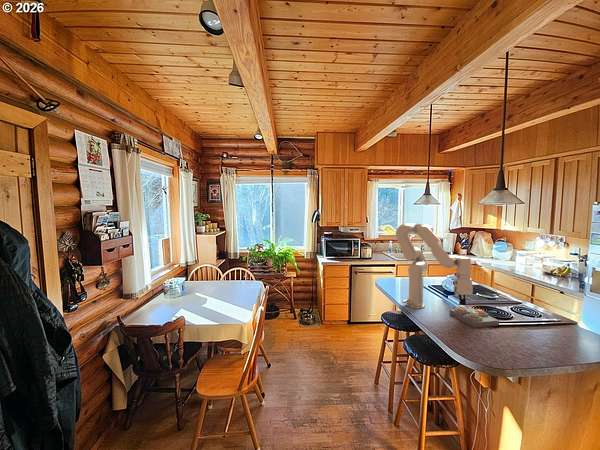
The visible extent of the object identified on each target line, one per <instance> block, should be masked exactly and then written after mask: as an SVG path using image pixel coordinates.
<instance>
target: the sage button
mask: <svg viewBox="0 0 600 450" xmlns="http://www.w3.org/2000/svg"><path fill="white" fill-rule="evenodd" d="M470 316H471V317H474V318H478V312H475V311H470Z"/></svg>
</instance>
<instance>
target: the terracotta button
mask: <svg viewBox="0 0 600 450" xmlns="http://www.w3.org/2000/svg"><path fill="white" fill-rule="evenodd" d="M476 312H478V314H484V312H485V311H484V310H483V309H479V308H476Z"/></svg>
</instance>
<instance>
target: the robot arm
mask: <svg viewBox="0 0 600 450" xmlns="http://www.w3.org/2000/svg"><path fill="white" fill-rule="evenodd" d="M411 235H415V236H418V237H419V238H421V240H422V242H424V243H425V245H427V247H428V249H430V252H431V254H432V255H433V257H434V258H435V260H436V261H437V262H438V263H439V264H440V265H441V266H442V267H443V268H446V269H451V268H453V267H456V274H455V279H454V283H453V284H454V286H453V292H454V296H456V297H458V298H459V304H460V305H463V306H466V301H467V299H468V297H469V296H471V295H472V294H473V291H474V290H473V288H474V287H473V280H472V278H471V270H472V269H471V267H472V266H471V262H472V259H471V257H468V256H459V255H455V254H448V253H447V252H446V251H445V250H444V248H443V246H442V241H441V239H440V238H439V237H438V236H437V235H436V234H435V233H434V228H433V227H432V225H429V224H426V223H425V224H424V223H417V222H416V223H414V222H408V223H406V222H405V223H402V224H400V225H399V226H398V227H397V229H396V231H395V238H396V240H397V243H398V245H399V247H400V249H401V251H402V254H403V256H404V259H405V260H406V261H409V262H411V261H412V263H410V264H409V266H408V269H407V272H408V298H406V299H402V300H401V302H402V304H406V306H407V307H409V308H412V309H421V310H422V309H425V308H426V304H425V303H424V274H425V273H427V271H428V269H429V265H428V262H427V260H426V257H425V255H424V254H423V251H422V250H421V249H420V248H419V247H417V246H414V244H413V243H412V240H411V239H410V237H409V236H411Z"/></svg>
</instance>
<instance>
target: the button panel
mask: <svg viewBox="0 0 600 450" xmlns="http://www.w3.org/2000/svg"><path fill="white" fill-rule="evenodd" d="M476 309H477V308H476ZM476 309H475V308H473V307H471V308H466V311H459V310H458V307H457V308H456V307H455V308H454V309H449V315H451V316H452V317H454V318H456V319H458V320H460V321H462V322H463V323H465V324H467V325H469V326H471V327H472V328H483V327H496V326H497V327H499V326H500V320H498V319H496V318H495V317H492V316H490V315H489V313H487V312H485V311H484V314H478V318H474V317H471V316H470V311H475V312H476ZM498 325H499V326H498Z"/></svg>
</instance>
